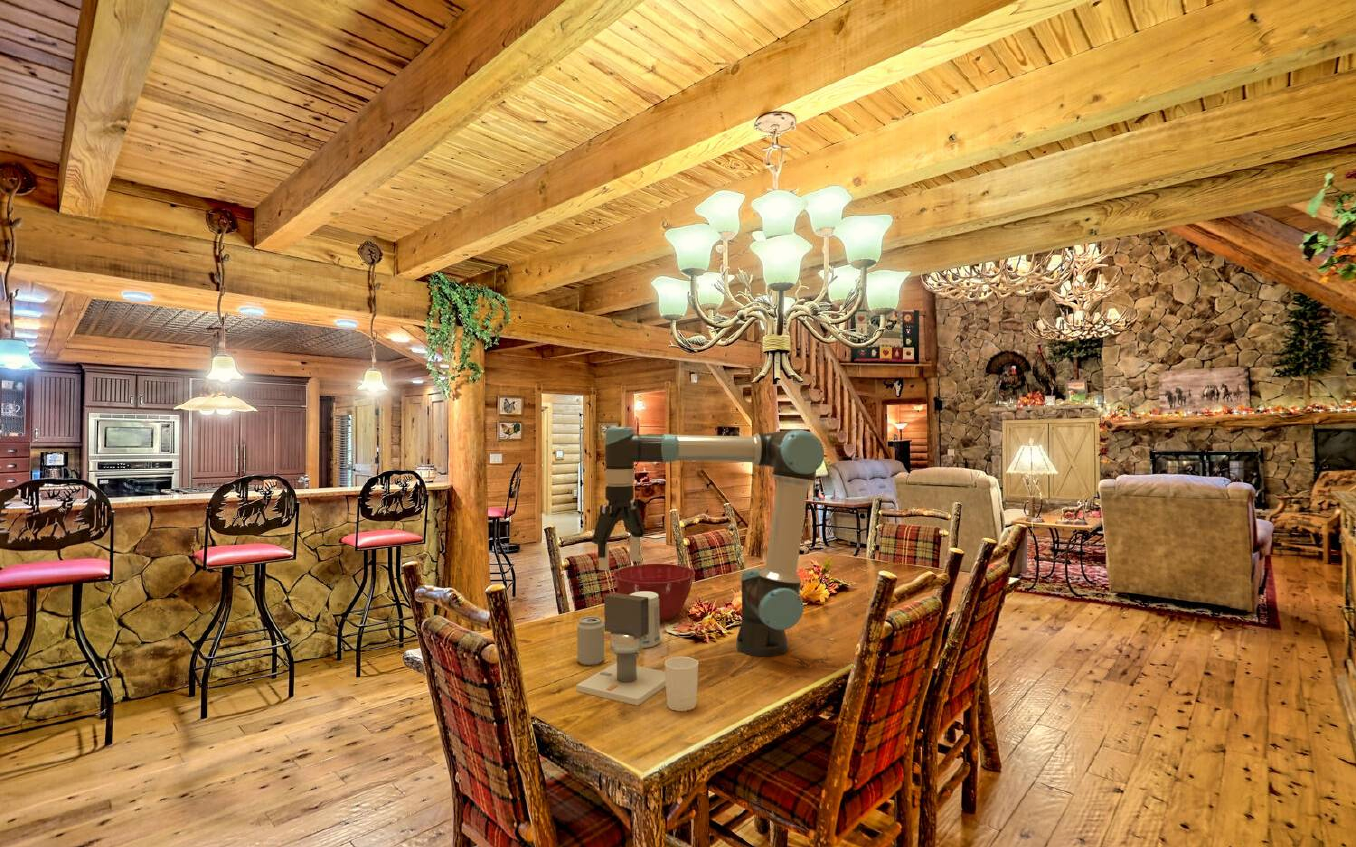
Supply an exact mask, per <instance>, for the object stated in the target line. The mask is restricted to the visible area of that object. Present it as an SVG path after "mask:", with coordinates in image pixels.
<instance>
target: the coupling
mask: <svg viewBox="0 0 1356 847" xmlns="http://www.w3.org/2000/svg"><path fill="white" fill-rule="evenodd" d="M603 597H604V599H603V600H604V603H603V604H604V606H603V607H604V614H603V616H604V632H607V634H604V640H608V641H609V640H610V650H611V651H612V652H613V653H614V652H616V653H622V654H628V653H635V652H637V653H639V652H640V651H641V650H643V648H642V637H643V636H645V635H647V634H649V599H648V597H641V596H634V595H627V594H620V593H619V592H610V593H607V594H605V595H604V596H603ZM609 633H610V634H609Z"/></svg>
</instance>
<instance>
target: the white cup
mask: <svg viewBox="0 0 1356 847" xmlns="http://www.w3.org/2000/svg"><path fill="white" fill-rule="evenodd" d="M664 671H665V683H666V686H665V693H666V706H667V707H668V708H669V709H670V710H671V711H674V710H676V711H675V712H688V711H687V710H689V711H692V710H693V709H695V708H696V706H697V695H698V680H699V679H698V678H699V677H698V676H699V674H698V673H699V661H698V660H697V659H695V658H693V657H688V656H675V657H670V658H668V659H666V660H665V661H664ZM691 709H692V710H691Z"/></svg>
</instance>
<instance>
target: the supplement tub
mask: <svg viewBox="0 0 1356 847" xmlns="http://www.w3.org/2000/svg"><path fill="white" fill-rule="evenodd" d="M630 595H634V596H641V597H648V599H649V634H647V635H645V636H643V637H642V649H647V648H648V649H649V648H653V647H655V646H657V645H658V644H659V643H660V641H661V636H660V635H661V632H660V631H661V630H660V627H661V626H660V622H661V621H660V618H659V595H658V594H657V593H655V592H648V591H642V592H635V593H631V594H630Z"/></svg>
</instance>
